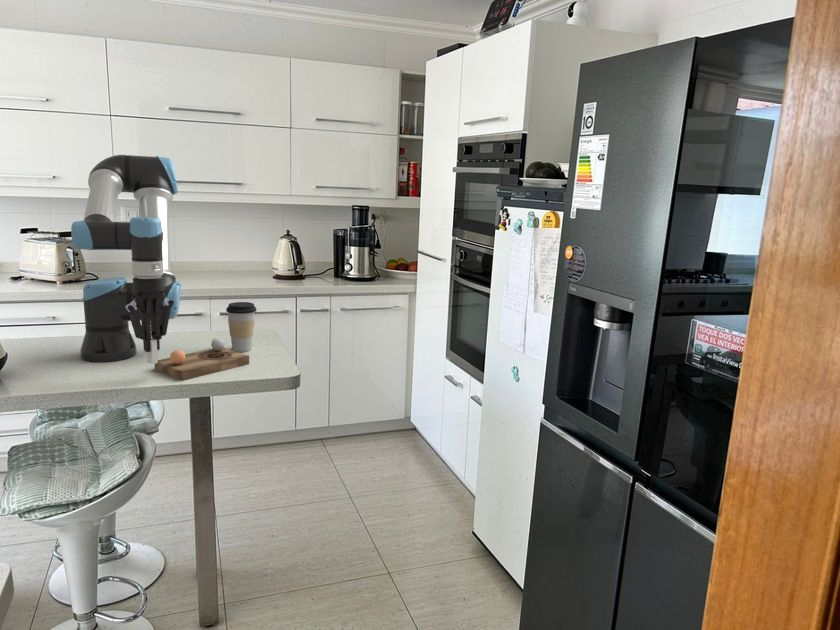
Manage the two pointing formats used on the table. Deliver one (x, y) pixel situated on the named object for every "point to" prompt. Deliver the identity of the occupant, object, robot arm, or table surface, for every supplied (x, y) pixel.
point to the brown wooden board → (202, 363)
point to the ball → (177, 357)
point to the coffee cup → (241, 325)
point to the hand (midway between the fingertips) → (152, 362)
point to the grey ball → (218, 344)
